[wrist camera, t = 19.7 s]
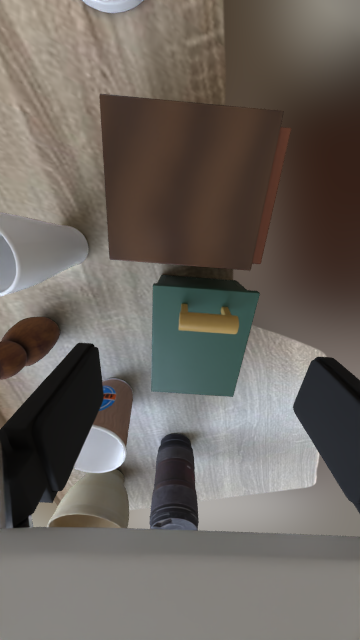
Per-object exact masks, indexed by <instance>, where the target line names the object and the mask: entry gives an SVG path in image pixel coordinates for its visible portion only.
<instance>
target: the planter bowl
mask: <svg viewBox="0 0 360 640" xmlns="http://www.w3.org/2000/svg"><path fill="white" fill-rule="evenodd" d="M128 520H129V502H128V495H127V491H126V488H125V485H124V476H123V474H122V473H121V472H120V471H118V470H117V469H114V470H112V471H109V472H104V473H89V472H87V473H86V475H85V476H84V477H82V478H81V479H80V480H79V481H78V482H76V483H75V484H74V485H73V486H72V488H71V489H70V490H69V491H68V492H67V493H66V495H65V496H64V498H63V499H62V500H61V502H60V504H59V505H58V507H57V509H56V511H55V513H54V515H53V516H52V518H51V519H50V521H49V523H48V525H47V527H94V528H127V526H128Z"/></svg>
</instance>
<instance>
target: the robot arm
mask: <svg viewBox="0 0 360 640" xmlns="http://www.w3.org/2000/svg"><path fill="white" fill-rule="evenodd" d="M82 1H83V2H84V3H86V4H87V5H88V6H90V7H93V8H95V9H97V10H99V11H103V12H108V13H119V12H125V11H127V10H130V9H132V8H134V7H136V6H137V5H139V4H140V3H141V2H142V1H144V0H82ZM103 398H104V392H103V384H102V375H101V367H100V359H99V350H98V348H97V347H94V345H93V344H90V343H78V344H77V345H76V346H75V347H74V348H73V349H72V350H71V351H70V353H69V354H68V355H67V356H66V357H65V358H64V359H63V360H62V361H61V363H60V364H59V365H58V366H57V367H56V368H55V369H54V370H53V372H52V373H51V374H50V375H49V376H48V377H47V378H46V379H45V380H44V381H43V382H42V383H41V385H40V386H39V387H38V388H37V389H36V390H35V391H34V392H33V393H32V395H31V396H30V397H29V398H28V399H27V400H26V401H25V402H24V403H23V405H22V406H21V407H20V408H19V409H18V410H17V411H16V412H15V414H14V415H13V416H12V417H11V418H10V419H9V420H8V421H7V422H6V424H5V425H4V426H3V427H2V428H1V429H0V640H360V537H354V536H331V535H304V534H278V533H253V532H226V531H197V530H165V529H133V528H94V527H33V523H32V516H31V514H33V513H34V511H35V509H36V507H37V505H38V504H39V502H49V503H53V500H54V498H55V496H56V494H57V492H58V491H62V490H63V488H64V487H65V485H66V483H67V481H68V479H69V476H70V474H71V472H72V470H73V467H74V465H75V463H76V461H77V458H78V456H79V454H80V452H81V450H82V447H83V445H84V443H85V441H86V438H87V436H88V434H89V432H90V429H91V427H92V425H93V423H94V421H95V418H96V416H97V414H98V412H99V409H100V407H101V405H102V402H103ZM293 408H294V412H295V414H296V416H297V417H298V419H299V421H300V422H301V424H302V426H303V427H304V429H305V430H306V432H307V434H308V435H309V437H310V439H311V440H312V442H313V443H314V445H315V447H316V448H317V450H318V452H319V453H320V455H321V456H322V458H323V460H324V461H325V463H326V464H327V466H328V468H329V469H330V471H331V473H332V474H333V476H334V478H335V479H336V481H337V483H338V484H339V486H340V487H341V489H342V491H343V492H344V494H345V495H346V497H347V498H348V500H349V501H351V502H352V503H353V504H354V505H355V507H356V508H357V510H358V512H359V513H360V380H359V379H357V378H356V377H355V376H354V375H353V374H352V373H350V372H349V371H348V370H347V369H346V368H345V367H343V366H342V365H341V364H340V363H339V362H337V361H336V360H335V359H334V358H329V357H317V358H315V359H314V360H313V361H311V363H310V365H309V368H308V370H307V373H306V375H305V378H304V380H303V383H302V385H301V388H300V390H299V392H298V395H297V397H296V400H295V402H294V405H293Z"/></svg>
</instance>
